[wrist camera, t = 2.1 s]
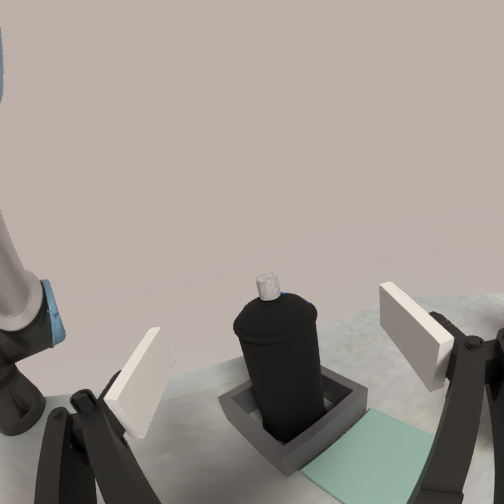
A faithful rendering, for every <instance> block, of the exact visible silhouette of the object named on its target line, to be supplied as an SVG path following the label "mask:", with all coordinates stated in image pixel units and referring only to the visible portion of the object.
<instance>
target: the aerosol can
mask: <svg viewBox="0 0 504 504" xmlns="http://www.w3.org/2000/svg"><path fill="white" fill-rule="evenodd" d="M256 282H257V287H258V291H259V296H260V297H258V298H256V299H254V300H252V301H251V302H249V303H248V304H247V305H246V306H245V307H244V308H243V310H242V311H241V313H240V314H239V315H238V317H237V318H236V319H235V321H234V324H233V330H234V332H235V334H236V335H237V336H238V338H239V341H240V344H241V348H242V351H243V354H244V358H245V362H246V365H247V369H248V372H249V375H250V379H251V382H252V385H253V389H254V392H255V395H256V398H257V402H258V405H259V408H260V411H261V414H262V417H263V427H264V430H265V431H267V432H268V433H269V434H270V435H271V436H272V437H273V438H274V439H276V440H277V441H281V442H287V443H289V442H290V441H292V440H293V439H294V438H296V437H297V436H299V435H300V434H301V433H303V432H304V431H305V430H307V429H308V428H309V427H311V426H312V425H313V424H314V423H316V422H317V421H318V420H320V419H321V418H322V417H323V416H325V415H326V414H327V412H326V409H325V407H324V399H323V387H322V376H321V366H320V356H319V347H318V338H317V330H316V322H315V321H316V319H317V310H316V308H315V306H314V305H312V304H311V303H310V302H308V301H306V300H304V299H303V298H301V297H300V296H298V295H295V294H291V293H284V292H280V288H279V283H278V279H277V275H276V274H273V273H268V274H264V275H261V276H259V277H257V279H256Z"/></svg>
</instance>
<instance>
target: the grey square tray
mask: <svg viewBox="0 0 504 504" xmlns="http://www.w3.org/2000/svg"><path fill="white" fill-rule="evenodd" d="M320 366H321V365H320ZM321 376H322V387H323V397H325V398H327V399H328V400H330V401H332V402H333V403H335V404H337V406H335V407H334V408H333V409H332V410H331V411H329V412H328V413H327V414H326V415H325V416H323V417H322V418H321V419H320V420H318V421H317V422H316V423H314V424H313V425H312V426H311V427H309V428H308V429H307V430H305V431H304V432H303V433H301V434H300V435H299V436H297V437H296V438H294V439H293V440H292V441H290V442H289V443H287V444H286V445H284V446H283V445H281V444H280V443H279V442H278V441H277V440H276V439H274V438H273V437H272V436H271V435H270V434H269V433H268V432H267V431H265V430H264V429H263V428H262V427H261V426H260V425H259V424H258V423H257V422H256V421H254V420H253V419H252V418H251V417H250V416H249V415H248V414H249V413H251V412H253V411H254V410H256V409H258V408H259V405H258V402H257V398H256V395H255V392H254V389H253V385H252V382H251V380H249V381H247V382H245V383H244V384H242V385H240V386H238V387H236V388H235V389H233V390H231V391H229V392H227V393H225V394H223V395H222V396H220V397H218V398H219V400H220V403H221V405H222V407H223V410H224V412H225V414H226V417H227V419H228V420H229V421H230V422H231V423H232V424H233V425H234V426H235V427H236V428H237V430H238V431H239V432H240V433H241V434H242V435H243V436H244V437H245V438H246V439H247V440H248V441H249V442H250V443H251V444H252V445H253V446H254V447H255V448H256V449H257V450H258V451H259V452H260V453H261V454H262V455H263V456H264V457H265V458H266V459H268V460H269V461H270V462H271V463H272V464H273V465H274V466H275V467H276V468H277V469H278V470H279V471H281V472H282V473H283V474H284V475H285V476H286V477H288V476H289V475H291V474H292V473H293V472H295V471H296V470H298V469H299V468H300V467H302V466H303V465H305V464H306V463H307V462H309V461H310V460H311V459H312V458H314V457H315V456H316V455H318V454H319V453H320V452H321V451H323V450H324V449H325V448H326V447H327V446H329V445H330V444H331V443H332V442H333V441H335V440H336V439H337V438H338V437H339V436H340V435H341V434H343V433H344V432H345V431H346V430H347V429H348V428H349V427H350V426H351V425H352V424H353V423H355V422H356V421H357V420H358V419H359V418H360V417H361V416H362V415H363V414H364V413H365V412H366V406H367V393H368V388H366V387H364V386H362V385H360V384H358V383H356V382H354V381H352V380H350V379H348V378H345V377H343V376H341V375H339V374H337V373H335V372H333V371H331V370H329V369H327V368H325V367H323V366H321Z"/></svg>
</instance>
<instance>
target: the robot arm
mask: <svg viewBox="0 0 504 504" xmlns="http://www.w3.org/2000/svg"><path fill="white" fill-rule="evenodd" d="M2 53H3V50H2V38H1V29H0V102H1V100H2V95H3V54H2ZM379 291H380V325H381V326H382V327H383V329H384V330H385V331H386V333H387V334H388V335H389V337H390V338H391V339H392V340H393V342H394V343H395V344H396V346H397V347H398V348H399V350H400V351H401V353H402V354H403V355H404V357H405V358H406V359H407V361H408V362H409V363H410V365H411V366H412V368H413V369H414V370H415V372H416V373H417V375H418V376H419V377H420V379H421V380H422V382H423V383H424V384H425V386H426V387H427V389H428V390H429V392H432V391H434V390H436V389H439V388H441V387H443V386H444V382H445V378H446V377H447V378H448V380H449V381H450V384H449V387H448V391H447V394H446V397H445V398H446V400H445V404H444V408H443V412H442V415H441V419H440V422H439V425H438V429H437V432H436V435H435V438H434V441H433V443H432V446H431V449H430V452H429V454H428V457H427V460H426V462H425V465H424V467H423V469H422V472H421V474H420V476H419V478H418V481H417V483H416V485H415V487H414V489H413V491H412V493H411V495H410V497H409V499H408V501H407V503H406V504H462V501H463V497H464V494H463V493H462V489H463V486H464V483H465V480H466V477H467V473H468V470H469V466H470V463H471V459H472V455H473V451H474V447H475V442H476V438H477V433H478V427H479V422H480V415H481V408H482V400H483V391H484V385H485V387H486V392H487V397H488V403H489V409H490V415H491V423H492V432H493V443H494V461H495V486H494V503H493V504H504V328H502V329H500V330H499V331H498V334H497V337H496V339H494V340H490V341H484V340H483V339H482V338H480V337H478V336H473V335H472V336H466V335H465V334H463V333H462V332H461V331H460V330H459V329H458V328H457V327H455V326H454V325H453V324H452V323H451V322H450V321H449V320H448V321H447V319H446V318H445V317H444V316H443V315H441V314H439V313H436V312H434V311H433V312H431V313H427V312H426V311H425V310H423V309H422V308H421V307H420V306H419V305H418V304H417V303H415V302H414V301H413V300H412V299H411V298H410V297H409V296H407V295H406V294H405V293H404V292H403V291H402V290H400V289H399V288H398V287H397V286H396V285H394V284H393V283H392V282H391V281H390V282H386V283H382V284H379ZM65 336H66V334H65V330H64V327H63V324H62V321H61V318H60V315H59V312H58V309H57V306H56V302H55V299H54V295H53V292H52V289H51V285H50V282H49V281H48V280H40V281H39V280H38V278H37V277H36V276H35V275H34V274H33V273H32V272H30V271H27V270H24V268H23V266H22V263H21V261H20V259H19V257H18V255H17V252H16V250H15V248H14V246H13V243H12V241H11V238H10V236H9V233H8V231H7V228H6V225H5V223H4V220H3V217H2V214H1V211H0V432H1V433H2V434H4V435H8V436H12V435H17V434H20V433H22V432H24V431H26V430H28V429H29V428H30V427H31V426H33V425H34V424H35V423H36V422H37V420H38V419H39V418H40V416H41V415H42V413H43V410H44V407H45V399H44V397H43V395H42V394H41V392H40V391H39V390H38V389H37V387H36V386H35V385H34V384H32V383H31V382H30V381H29V380H28V379H27V378H26V377H25V376H24V375H23V374H22V373H21V372H20V371H19V370H18V368H17V367H16V365H15V362H18V361H20V360H22V359H24V358H27V357H29V356H31V355H34V354H36V353H38V352H41V351H43V350H45V349H47V348H53V347H54V346H55V345H56V344H58V343H60V342H62V341H63V340H64V339H65ZM175 364H176V362H175V360H174V357H173V355H172V352H171V350H170V348H169V345H168V343H167V340H166V338H165V336H164V333H163V330H162V328H161V327H156V328H150V330H149V331H148V332H147V334H146V335H145V337H144V338H143V340H142V341H141V343H140V344H139V346H138V347H137V349H136V350H135V351H134V353H133V354H132V356H131V357H130V359H129V360H128V362H127V363H126V365H125V366H124V368H123V369H122V370H120V371H118V372H117V373H116V374H115V375H114V376H113V377H112V378H111V380H110V382H109V383H108V384H107V386H106V388H105V389H104V390H103V392H102V393H101V395H100V396H99V398H98V399H96V398H95V396H94V394H93V393H92V391H91V390H89V389H83V390H79V391H78V392H76V393H75V394H73V395H72V397H71V398H70V403H71V405H72V406H73V408H74V409H75V410H76V412H77V413H74V414H70V413H69V412H68V411H67V409H66V408H64V407H58V408H55V409H53V410H52V411H51V412H50V414H49V416H48V419H47V423H46V427H45V432H44V436H43V441H42V446H41V452H40V458H39V464H38V471H37V479H36V488H35V500H34V504H97V498H96V485H95V478H96V481H97V483H98V486H99V489H100V492H101V494H102V497H103V499H104V502H105V504H161V502H160V500H159V499H158V497H157V496H156V494H155V493H154V491H153V489H152V488H151V486H150V484H149V483H148V481H147V479H146V477H145V476H144V474H143V472H142V470H141V468H140V467H139V465H138V463H137V461H136V459H135V457H134V455H133V453H132V451H131V449H130V447H129V445H128V443H127V441H126V439H125V438H124V437H123V435H124V433H125V431H126V432H127V433H128V435H129V436H130V437H131V438H135V439H144V438H145V436H146V433H147V431H148V428H149V426H150V424H151V421H152V419H153V416H154V414H155V411H156V409H157V406H158V404H159V402H160V399H161V397H162V394H163V392H164V390H165V387H166V385H167V383H168V380H169V378H170V375H171V373H172V371H173V368H174V366H175Z"/></svg>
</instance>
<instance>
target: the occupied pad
mask: <svg viewBox="0 0 504 504" xmlns="http://www.w3.org/2000/svg"><path fill="white" fill-rule="evenodd" d="M434 438H435V435H432V434H430V433H427V432H425V431H422V430H420V429H418V428H415V427H413V426H411V425H409V424H406V423H404V422H402V421H400V420H397V419H395V418H393V417H391V416H389V415H387V414H385V413H382V412H380V411H378V410H376V409H374V408H371V409H370V410H369V411H368V412H367V413H366V414H365V415H364V416H363V417H362V418H361V419H360V420H359V421H358V422H357V423H356V424H355V425H354V426H353V427H352V428H351V429H350V430H349V431H348V432H346V433H345V434H344V435H343V436H342V437H341V438H340V439H339V440H337V441H336V442H335V443H334V444H333V445H332V446H330V447H329V448H328V449H327V450H326V451H324V452H323V453H322V454H321V455H319V456H318V457H317V458H316V459H314V460H313V461H312V462H311V463H309V464H308V465H307V466H305V467H304V468H303V469H301V470H300V472H301V473H302V474H303V475H305V476H306V477H307V478H308V479H310V480H311V481H312V482H314V483H315V484H316V485H317V486H319V487H320V488H322V489H323V490H324V491H326V492H327V493H328V494H330V495H331V496H333V497H334V498H335V499H337V500H338V501H340V502H341V503H343V504H406V503H407V501H408V499H409V497H410V495H411V493H412V491H413V489H414V487H415V485H416V483H417V481H418V478H419V476H420V474H421V472H422V469H423V467H424V465H425V462H426V460H427V457H428V454H429V452H430V449H431V446H432V443H433V441H434Z"/></svg>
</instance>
